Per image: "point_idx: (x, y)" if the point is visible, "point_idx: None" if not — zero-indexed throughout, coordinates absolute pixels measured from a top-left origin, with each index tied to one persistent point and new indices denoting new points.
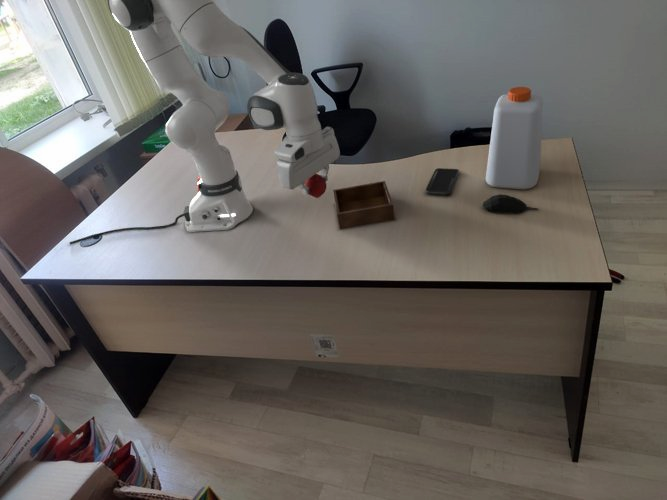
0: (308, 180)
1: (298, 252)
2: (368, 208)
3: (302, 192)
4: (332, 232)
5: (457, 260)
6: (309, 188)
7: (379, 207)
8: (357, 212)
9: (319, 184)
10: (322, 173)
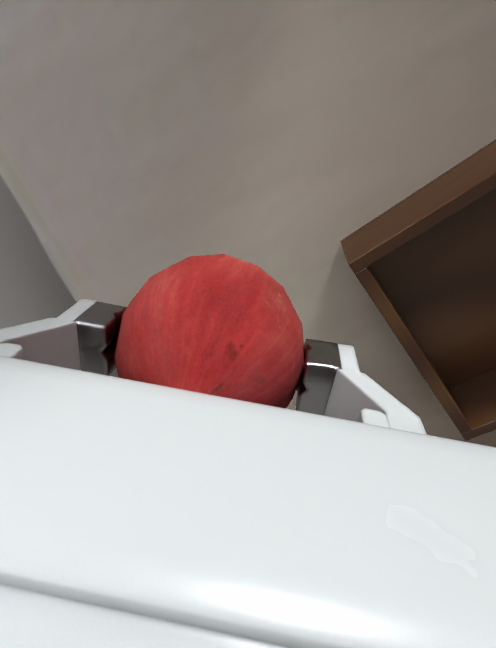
0: (129, 373)
1: (149, 160)
2: (423, 370)
3: (78, 305)
4: (313, 222)
5: None
6: (106, 372)
7: (440, 402)
8: (394, 332)
9: None
10: (340, 393)
